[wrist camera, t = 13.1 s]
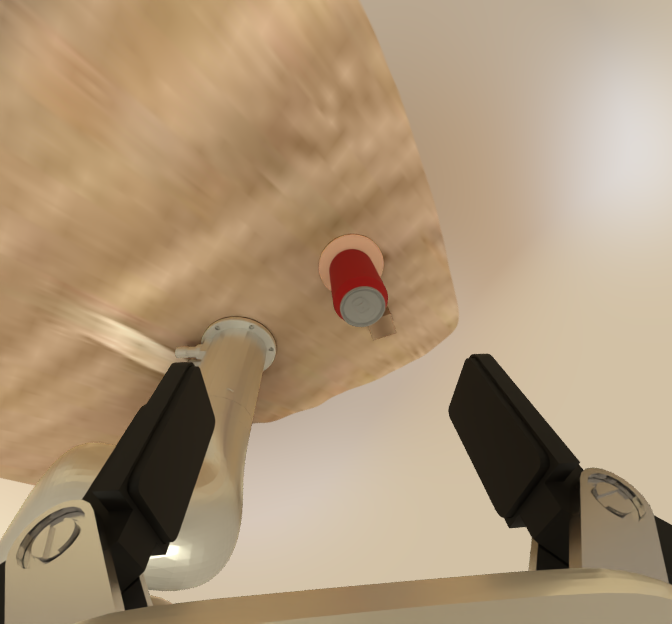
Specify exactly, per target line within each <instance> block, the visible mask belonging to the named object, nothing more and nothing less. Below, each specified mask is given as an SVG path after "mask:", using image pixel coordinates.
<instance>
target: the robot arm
mask: <svg viewBox="0 0 672 624" xmlns="http://www.w3.org/2000/svg"><path fill="white" fill-rule="evenodd" d="M175 355H176V358H190V357H196V359H195V360H188V362H180V363H173V364H172V365H171V366H170V368H169V369H168V371H167V372H166V374H165V376H164V377H163V379H162V380H161V382H160V384H159V385H158V387H157V388H156V390H155V392H154V393H153V395H152V396H151V398H150V400H149V401H148V403H147V404H145V405H144V406H142V407H141V409H140V410H139V411H138V412H137V414H136V416H135V417H134V419H133V420H132V422H131V423H130V425H129V427H128V428H127V430H126V431H125V433H124V434H123V436H122V437H121V439H120V441H119V442H118V444H117V445H112V444H106V443H85V444H82V445H78V446H76V447H74V448H72V449H70V450H68V451H67V452H66V453H64V454H63V455H62V456H61V457H59V458H58V459H57V460H56V461H55V462H54V463H53V464H52V465H51V466H50V467H49V469H48V470H47V471H46V472H45V474H44V475H43V476H42V477H41V478H40V480H39V481H38V483H37V484H36V485H35V487H34V488H33V490H32V491H31V493H30V494H29V495H28V497H27V499H26V500H25V502H24V503H23V505H22V506H21V508H20V510H19V511H18V513H17V514H16V516H15V517H14V519H13V521H12V522H11V524H10V526H9V527H8V529H7V530H6V532H5V533H4V535H3V537H2V538H1V540H0V624H672V525H671V524H669V523H667V522H665V521H663V520H661V519H660V518H658V517H656V516H654V514H653V512H652V509H651V507H650V505H649V504H648V502H647V501H646V500H645V498H644V497H643V496H642V495H641V494H640V493H639V492H638V491H637V490H636V489H635V488H634V487H633V486H632V485H631V484H629V483H628V482H627V481H625V480H624V479H622V478H621V477H619V476H617V475H615V474H614V473H611V472H609V471H606V470H603V469H599V468H587V469H585V470H583V469H582V468H581V467H580V465H579V463H580V462H579V460H578V459H577V458H576V457H575V456H574V455H573V453H572V452H571V451H570V449H569V448H568V447H567V446H566V445H565V443H564V442H563V441H562V440H561V439H560V437H559V436H558V435H557V434H556V433H555V431H554V430H553V429H552V428H551V427H550V425H549V424H548V423H547V422H546V421H545V419H544V418H543V417H542V416H541V415H540V414H539V412H538V411H537V410H536V409H535V407H534V406H533V405H532V404H531V403H530V401H529V400H528V399H527V398H526V396H525V395H524V394H523V393H522V392H521V390H520V389H519V388H518V387H517V386H516V385H515V383H514V382H513V381H512V380H511V379H510V377H509V376H508V375H507V374H506V372H505V371H504V370H503V369H502V368H501V366H500V365H499V364H498V363H497V362H496V360H495V359H494V358H493V357H492V356H491V355H490V354H472V355H471V356H470V357H469V358H467V359H466V360H465V363H464V365H463V368H462V371H461V374H460V377H459V380H458V383H457V385H456V388H455V391H454V394H453V397H452V400H451V403H450V406H449V416H450V419H451V421H452V423H453V425H454V427H455V429H456V431H457V433H458V435H459V437H460V439H461V441H462V443H463V445H464V447H465V449H466V451H467V453H468V455H469V457H470V459H471V461H472V463H473V465H474V467H475V469H476V471H477V473H478V475H479V477H480V479H481V481H482V483H483V485H484V487H485V489H486V492H487V494H488V496H489V498H490V500H491V502H492V504H493V506H494V507H495V510H496V511H497V513H498V514H499V515H500V516H501V517H503V518H504V519H505V521H506V523H507V525H508V527H509V528H518V527H527V529H528V531H529V533H530V535H531V536H532V542H531V551H530V561H529V571H522V572H509V573H498V574H485V575H474V576H462V577H450V578H438V579H427V580H415V581H405V582H394V583H382V584H370V585H359V586H349V587H337V588H326V589H315V590H304V591H295V592H283V593H273V594H262V595H252V596H241V597H232V598H220V599H211V600H202V601H193V602H185V603H176V604H172V603H170V602H169V601H167V600H165V599H163V598H160V597H156V596H152V595H150V594H149V591H148V590H159V591H177V590H185V589H190V588H194V587H197V586H200V585H202V584H204V583H206V582H208V581H209V580H211V579H212V578H213V577H215V576H216V575H217V574H218V573H219V572H220V571H221V570H222V568H223V567H224V566H225V565H226V563H227V562H228V560H229V559H230V556H231V555H232V553H233V550H234V548H235V545H236V542H237V539H238V535H239V530H240V525H241V519H242V518H241V517H242V506H243V477H244V465H245V458H246V451H247V445H248V440H249V435H250V431H251V426H252V421H253V417H254V412H255V407H256V402H257V398H258V393H259V388H260V383H261V379H262V374H263V371H264V370H266V369H267V368H268V367H269V366H270V365H271V364H272V362H273V361H274V358H275V355H276V343H275V339H274V338H273V336H272V334H271V333H270V332H269V331H268V329H266V328H265V327H264V326H263V325H261V324H259V323H258V322H256V321H253V320H251V319H247V318H242V317H228V318H224V319H220V320H218V321H216V322H214V323H213V324H212V325H210V326H209V327H208V329H207V330H206V331H205V333H204V335H203V337H202V341H201V344H198V345H197V346H196V347H190V346H182V347H177V348H176V351H175ZM197 359H201V360H197Z"/></svg>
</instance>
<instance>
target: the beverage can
mask: <svg viewBox="0 0 672 624" xmlns="http://www.w3.org/2000/svg"><path fill="white" fill-rule="evenodd" d="M329 275H330V284H331V291H332V298H333V304H334V309H335V311H336V313H337V314H338V316H339V317H340V318H341V319H343V320H344V321H346V322H347V323H348V324H350V325H352V326H356V327H366V326H369V325H372V324H374V323H375V322H377V321H378V320H379V319H380V318H381V317H382V315H383V313H384V311H385V308H386V306H387V302H388V294H387V290H386V288H385V286H384V284H383V282H382V280H381V278H380V276H379V274H378V272H377V270H376V268H375V266H374V264H373V262H372V261H371V259H370V257H369V256H368V255H367V254H366V253H364V252H363V251H360V250H357V249H348V250H345V251H342V252H340V253H339V254H337V255H336V256H335V257H334V259H333V260H332V262H331V264H330V267H329Z"/></svg>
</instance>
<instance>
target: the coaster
mask: <svg viewBox="0 0 672 624" xmlns="http://www.w3.org/2000/svg"><path fill="white" fill-rule="evenodd" d="M348 249H357V250H360V251H363V252H364V253H366V254H367V255H368V256H369V257H370V259H371V261H372V262H373V264H374V266H375V268H376V270H377V272H378V274H379V276H380V278H381V275H382V273H383V268H384V260H383V256H382V253H381V251H380V249H379V247H378V246H377V245H376V244H375V243H374V242H373V241H372V240H371V239H369V238H367V237H365V236H362V235H358V234H347V235H343V236H340V237H338V238H336V239H334V240H333V241H331V242H330V243H329V244H328V245H327V246H326V247H325V249H324V250H323V252H322V254H321V256H320V260H319V274H320V277H321V280H322V281H323V283H324V285H325V286H326V287H327V288H328V289H329V290H331V284H330V275H329V267H330V264H331V262H332V260H333V259H334V257H335V256H336V255H337V254H339V253H340V252H342V251H345V250H348Z"/></svg>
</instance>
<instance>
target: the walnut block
mask: <svg viewBox="0 0 672 624" xmlns="http://www.w3.org/2000/svg"><path fill="white" fill-rule="evenodd" d="M368 327H369V330H370V333H371V336H372V338H373V340H376V339H379V338H382V337H386V336H389V335H392V334H395V333H396V330H395V326H394V323H393V320H392V316H391V313H390V311H389V309H388V307H387V306H386V308H385V311H384V313H383V315H382V317H381V318H380V319H379V320H378V321H377V322H375V323H374V324H372V325H369V326H368Z"/></svg>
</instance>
